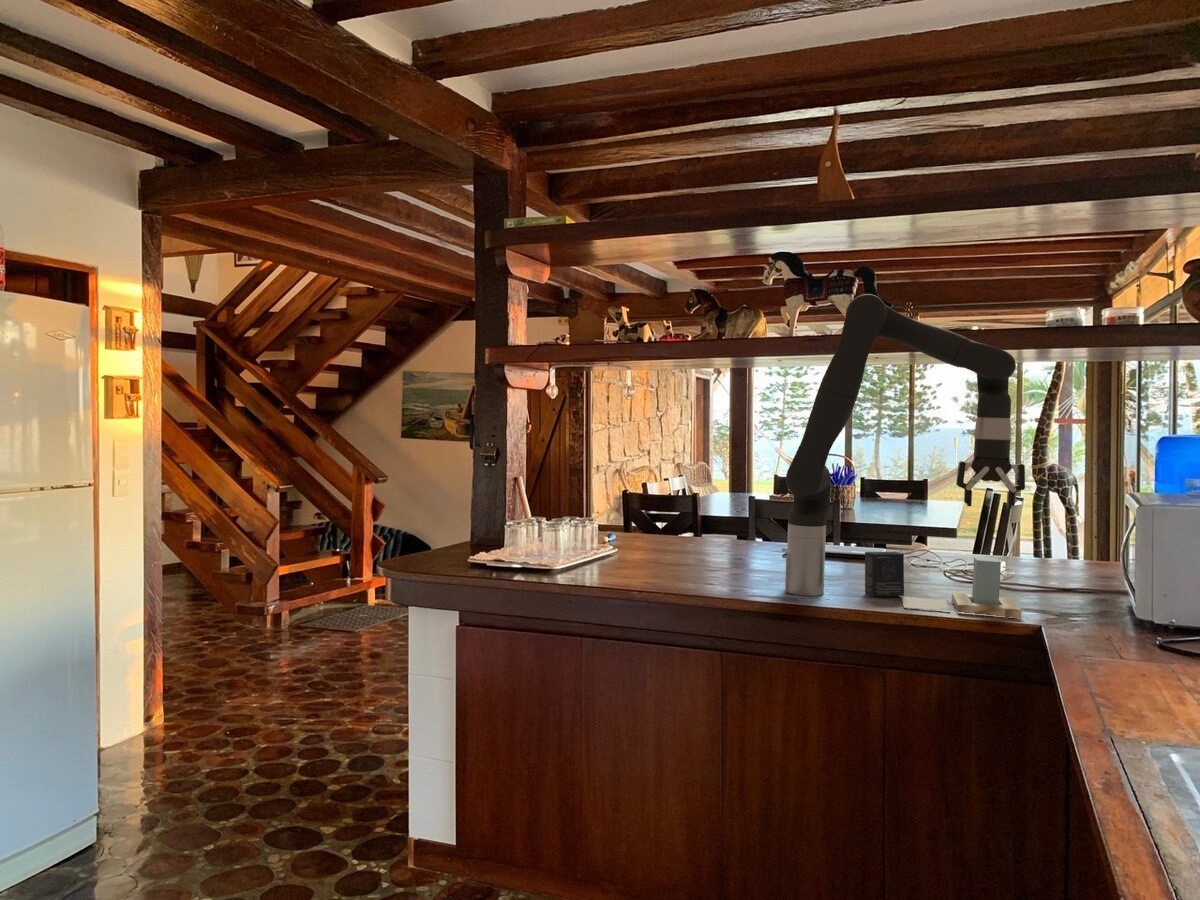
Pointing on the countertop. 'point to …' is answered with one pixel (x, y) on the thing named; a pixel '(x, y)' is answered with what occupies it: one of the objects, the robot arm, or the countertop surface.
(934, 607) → the mat
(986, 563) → the block
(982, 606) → the pocket board
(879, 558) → the box
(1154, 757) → the countertop surface
